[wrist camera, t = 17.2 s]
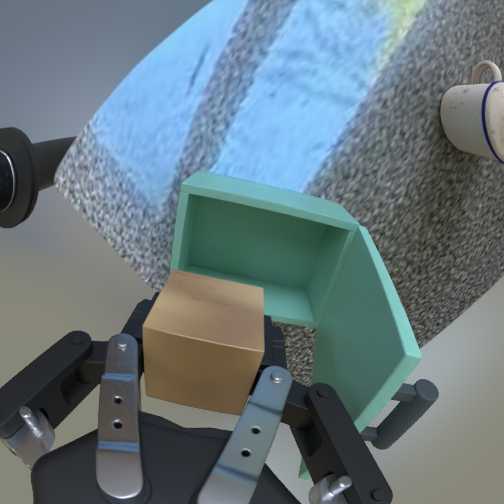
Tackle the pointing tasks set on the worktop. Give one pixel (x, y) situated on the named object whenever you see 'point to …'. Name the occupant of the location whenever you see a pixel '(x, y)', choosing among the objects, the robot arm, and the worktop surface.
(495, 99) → the teacup with lid
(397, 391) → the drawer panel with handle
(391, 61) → the worktop surface
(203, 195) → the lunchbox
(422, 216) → the worktop surface
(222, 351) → the block
